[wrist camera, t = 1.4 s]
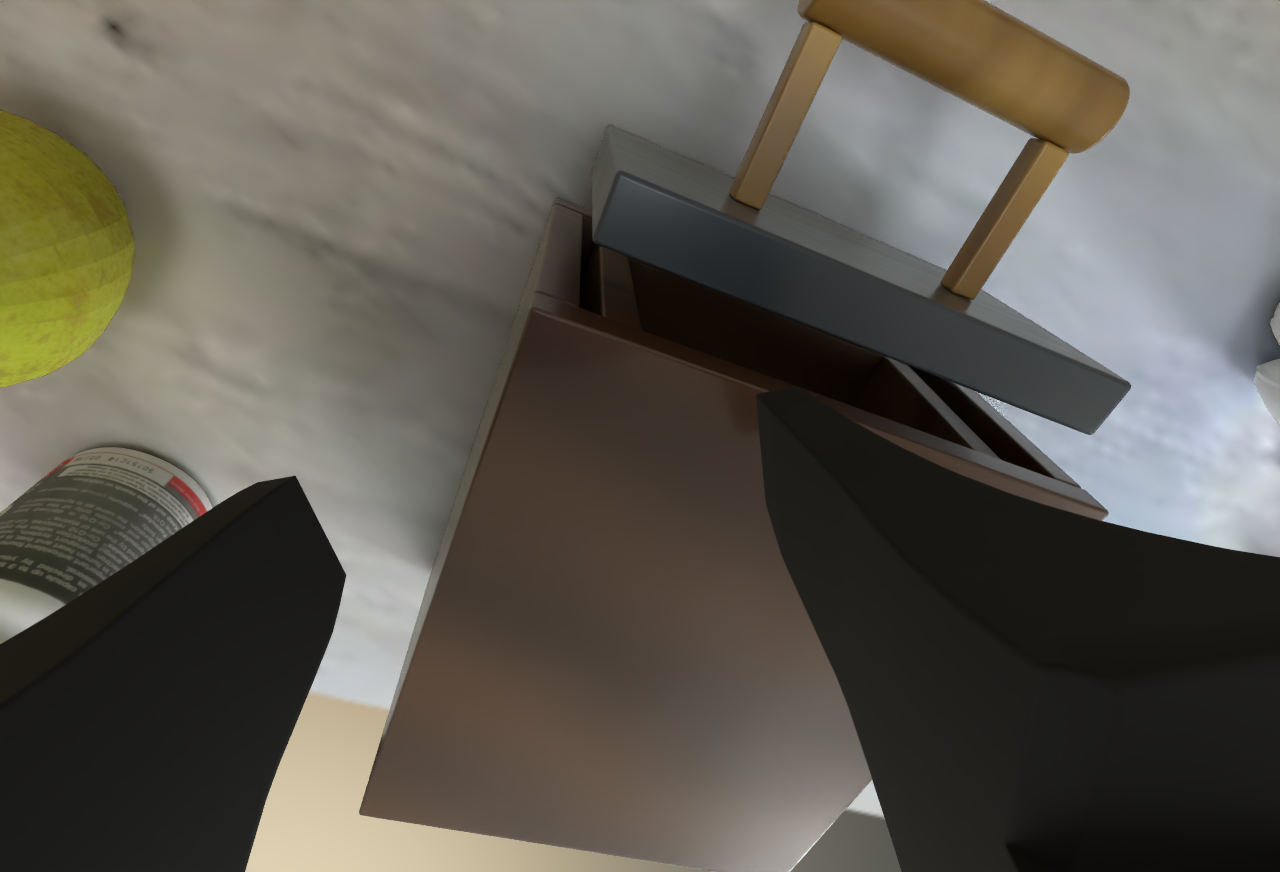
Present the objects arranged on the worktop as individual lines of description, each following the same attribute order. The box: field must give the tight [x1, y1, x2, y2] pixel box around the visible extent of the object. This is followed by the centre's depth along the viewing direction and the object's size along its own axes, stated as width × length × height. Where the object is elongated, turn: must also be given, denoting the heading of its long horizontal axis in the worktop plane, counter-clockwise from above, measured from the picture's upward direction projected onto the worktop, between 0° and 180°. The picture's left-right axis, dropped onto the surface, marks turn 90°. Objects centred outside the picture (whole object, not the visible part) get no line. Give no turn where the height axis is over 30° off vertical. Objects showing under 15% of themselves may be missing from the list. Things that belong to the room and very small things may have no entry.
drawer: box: [579, 0, 1131, 460], centre depth 16 cm, size 17×10×7 cm, turn 158°
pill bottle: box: [0, 447, 212, 644], centre depth 18 cm, size 5×5×8 cm
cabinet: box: [359, 198, 1109, 872], centre depth 18 cm, size 14×12×9 cm
